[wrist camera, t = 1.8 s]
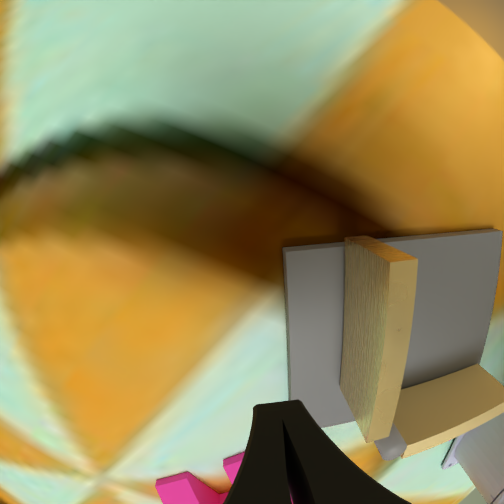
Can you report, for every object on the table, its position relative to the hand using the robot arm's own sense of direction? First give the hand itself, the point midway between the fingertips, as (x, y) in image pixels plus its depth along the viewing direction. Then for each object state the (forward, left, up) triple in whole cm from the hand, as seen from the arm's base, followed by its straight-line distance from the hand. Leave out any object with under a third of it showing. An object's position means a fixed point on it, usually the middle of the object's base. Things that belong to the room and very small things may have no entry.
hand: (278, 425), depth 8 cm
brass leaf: (-5, 0, -7) cm, 9 cm away
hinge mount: (-9, +3, -8) cm, 13 cm away
